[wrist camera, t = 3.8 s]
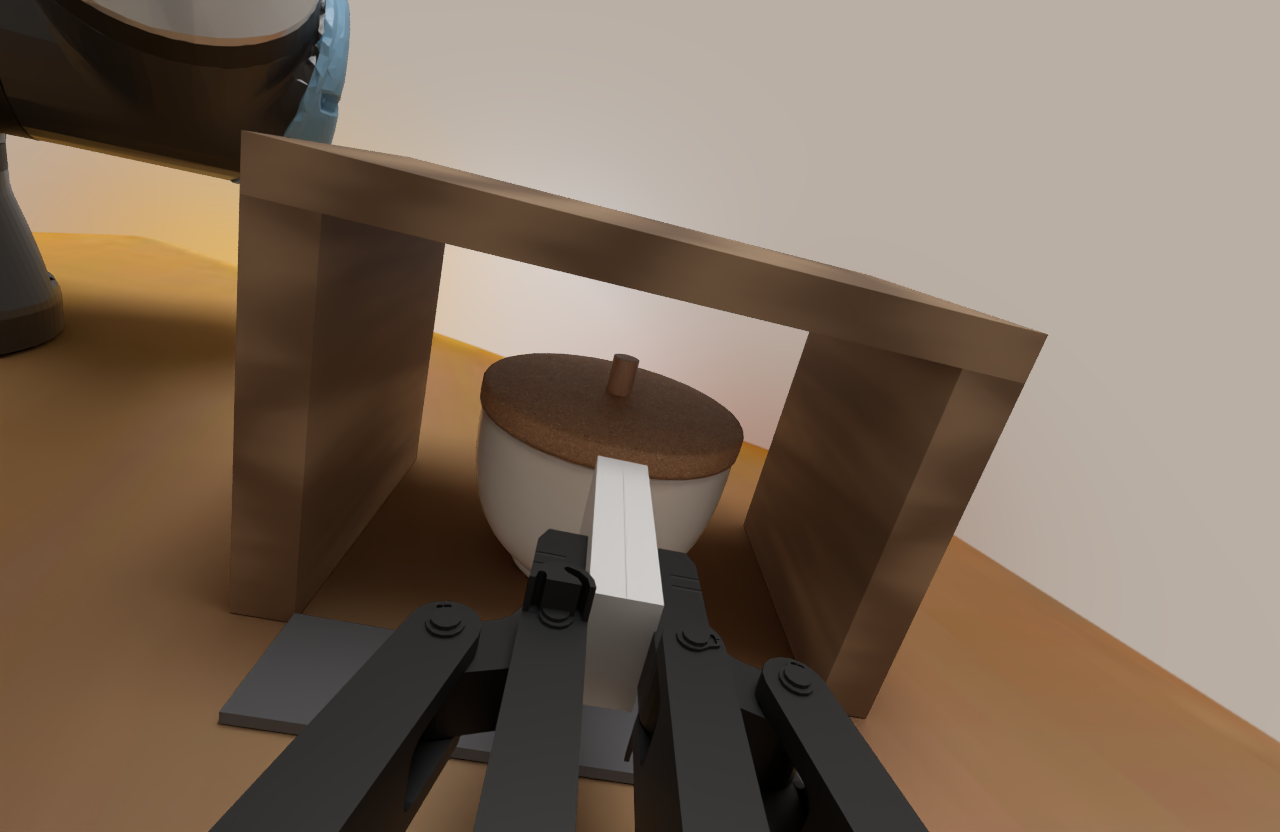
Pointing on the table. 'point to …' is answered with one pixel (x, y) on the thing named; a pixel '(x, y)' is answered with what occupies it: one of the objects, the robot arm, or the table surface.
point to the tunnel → (626, 256)
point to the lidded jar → (595, 446)
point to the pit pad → (335, 650)
